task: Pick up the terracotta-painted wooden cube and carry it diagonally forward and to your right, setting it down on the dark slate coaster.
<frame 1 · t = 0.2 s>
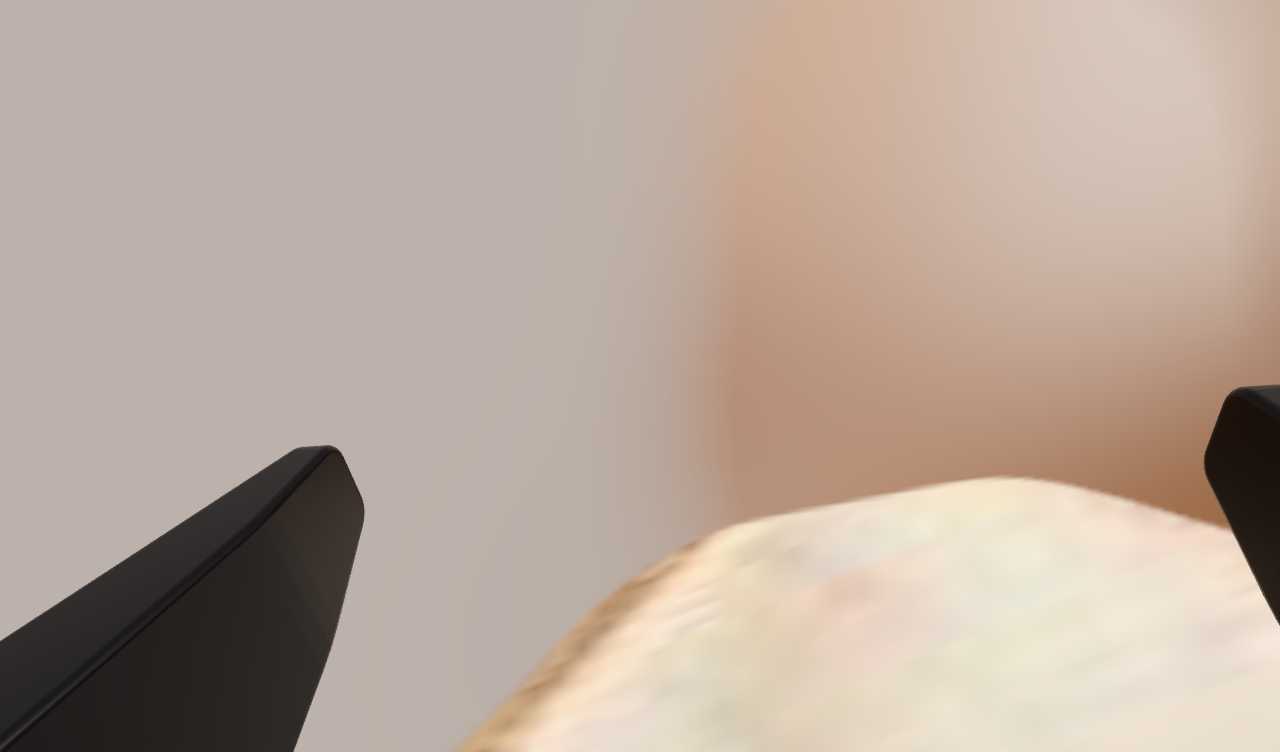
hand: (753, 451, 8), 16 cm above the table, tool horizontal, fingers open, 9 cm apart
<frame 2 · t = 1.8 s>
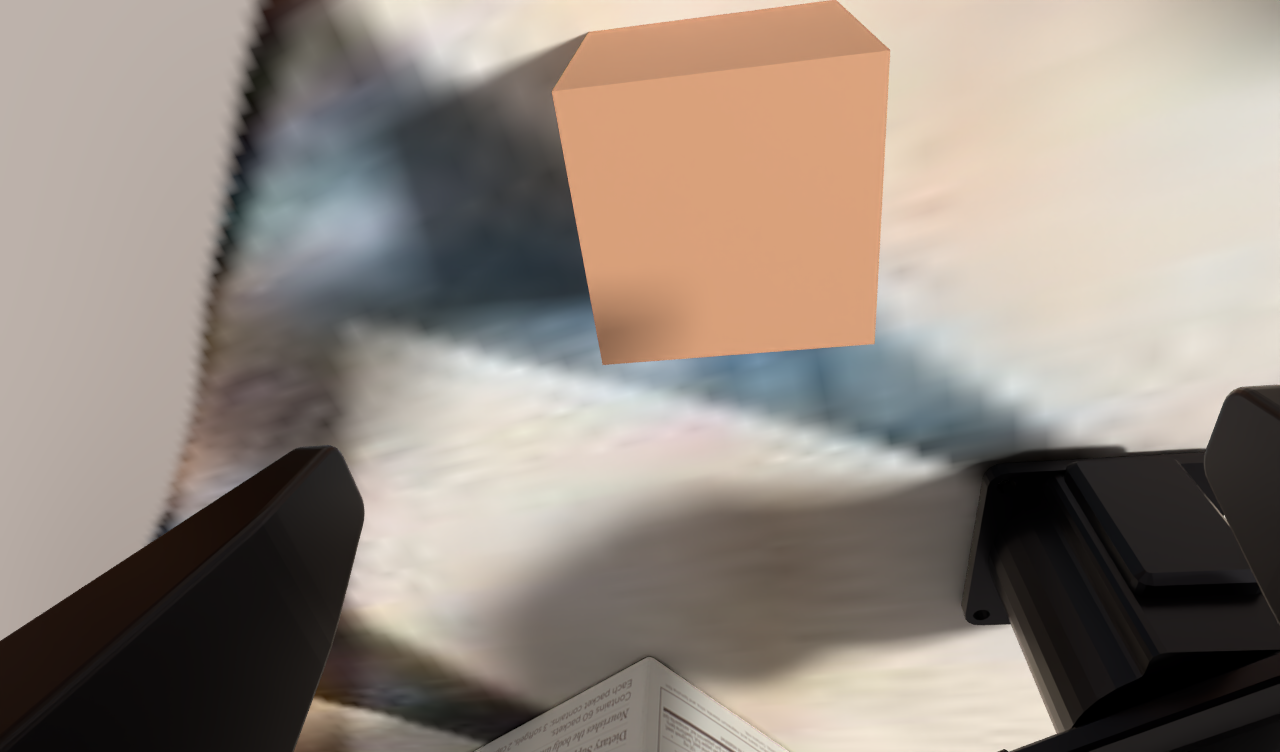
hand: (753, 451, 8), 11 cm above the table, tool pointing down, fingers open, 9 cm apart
cube: (718, 138, 17), on the table
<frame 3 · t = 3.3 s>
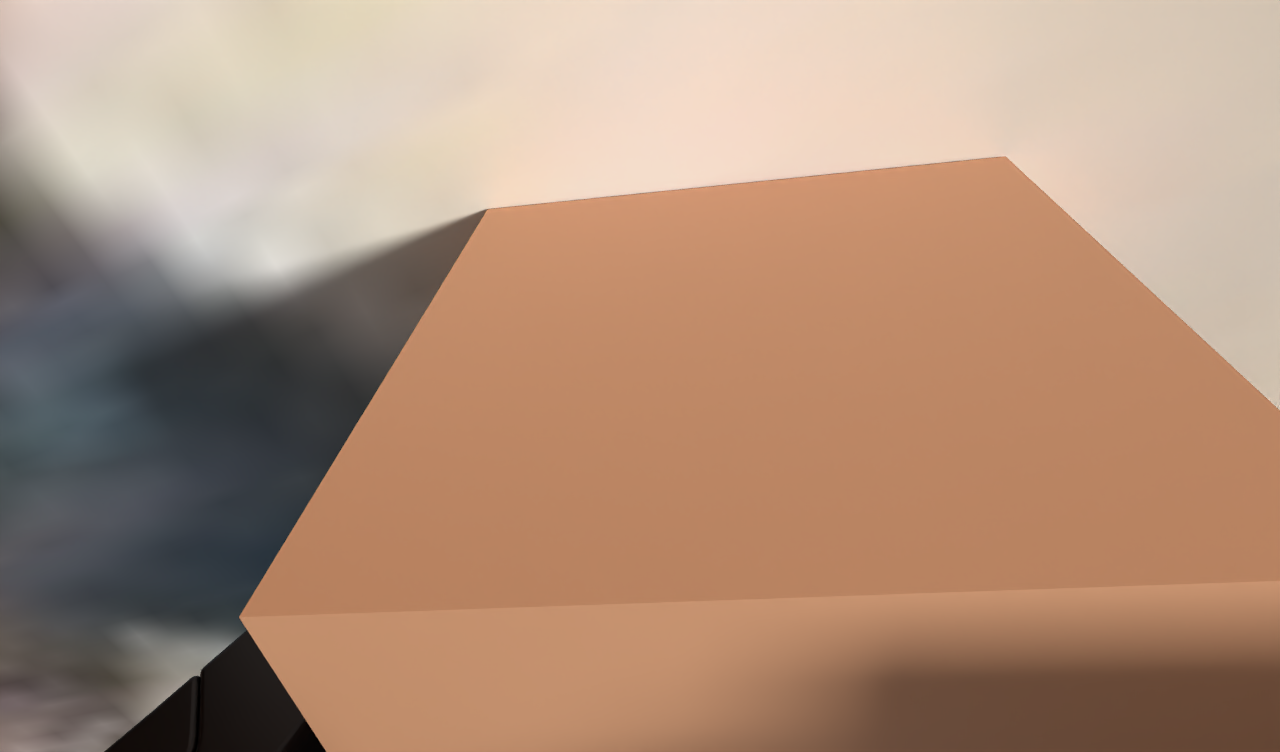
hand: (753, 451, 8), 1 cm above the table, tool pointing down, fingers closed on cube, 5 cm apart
cube: (747, 393, 9), on the table, touching gripper
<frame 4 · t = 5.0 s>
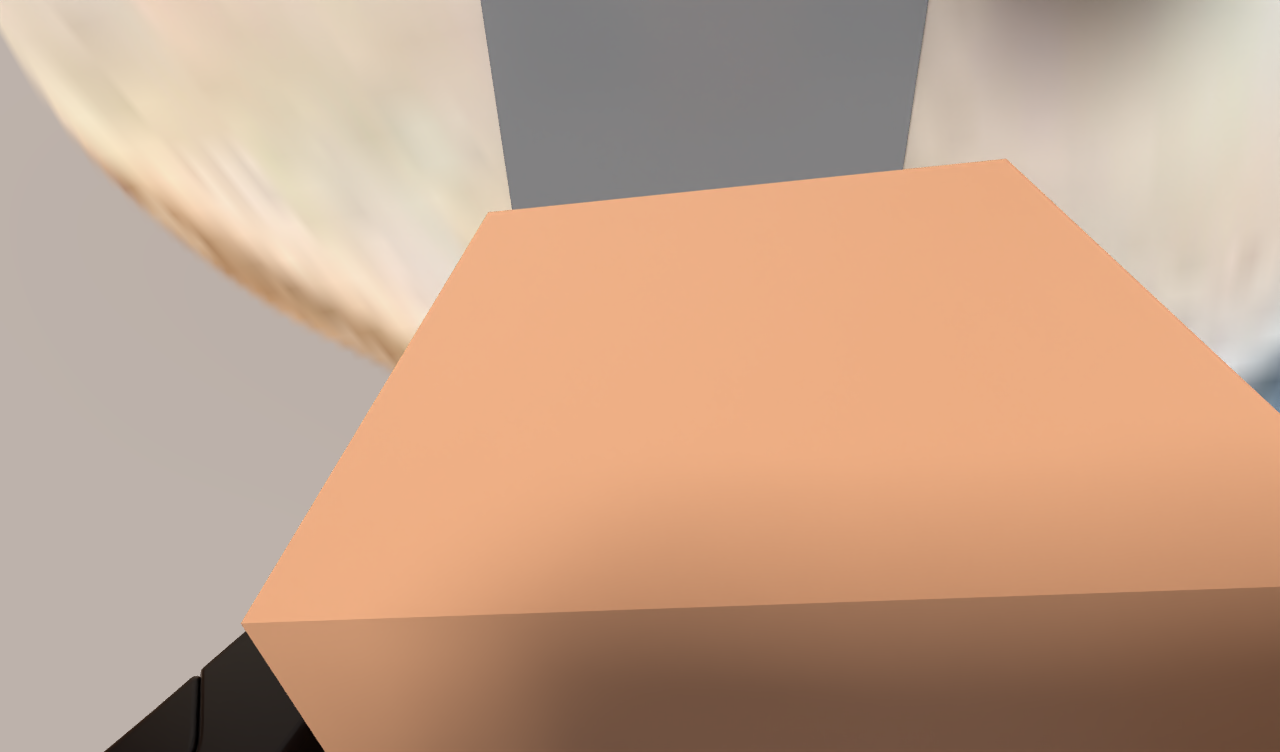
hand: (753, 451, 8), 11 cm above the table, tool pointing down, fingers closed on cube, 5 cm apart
coaster: (700, 87, 17), on the table
cube: (748, 395, 9), point 10 cm above the table, touching gripper
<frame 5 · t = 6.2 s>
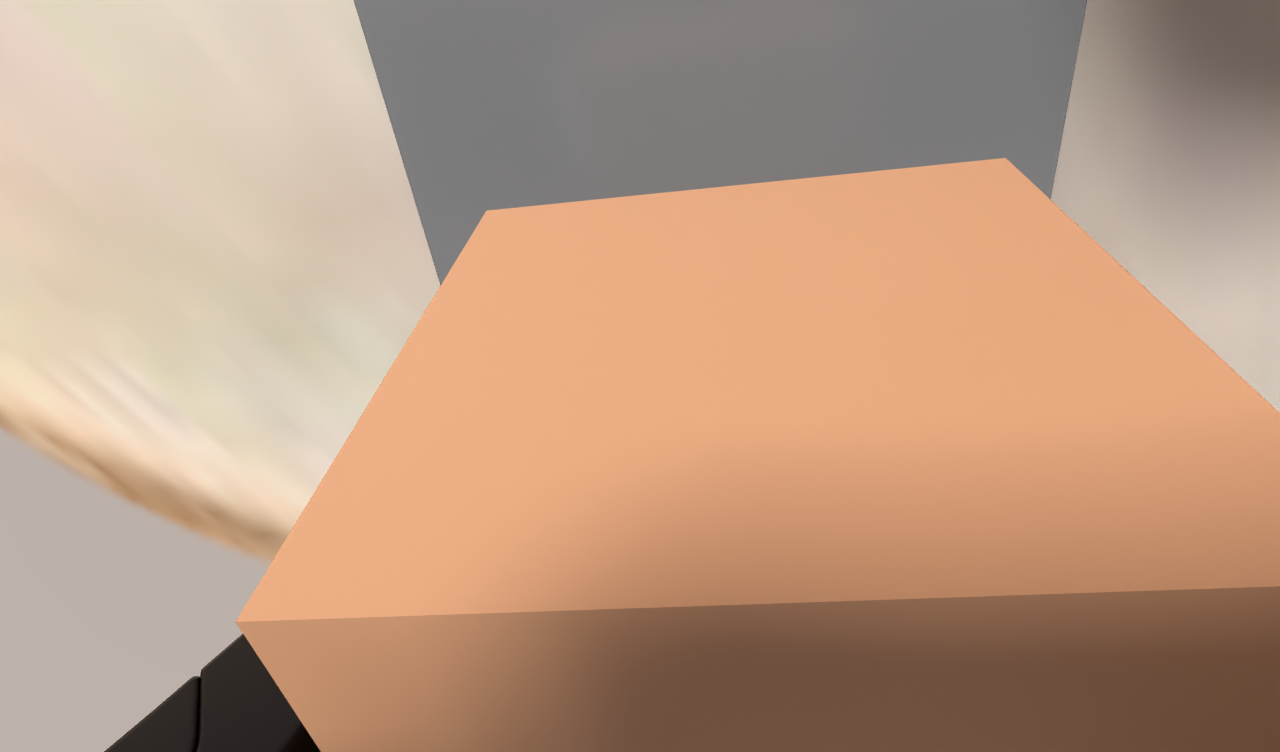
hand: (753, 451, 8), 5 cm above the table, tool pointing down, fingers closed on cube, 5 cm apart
coaster: (727, 253, 12), on the table
cube: (747, 394, 9), point 4 cm above the table, touching gripper
when the fingers open (3 cm above the table, at t = 7.0 s): cube drops 1 cm, resting on coaster.
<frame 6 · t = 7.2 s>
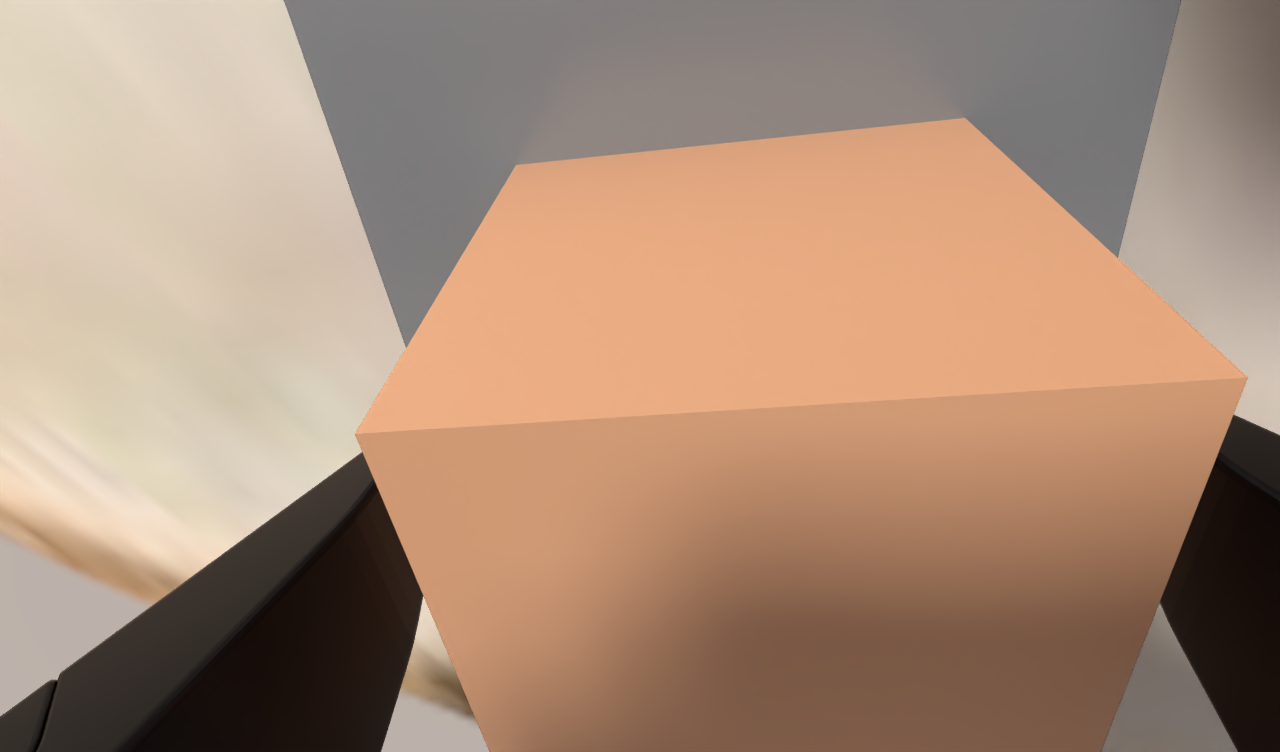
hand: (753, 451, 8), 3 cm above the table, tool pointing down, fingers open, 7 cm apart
coaster: (736, 310, 10), on the table
cube: (743, 333, 10), point 1 cm above the table, touching coaster
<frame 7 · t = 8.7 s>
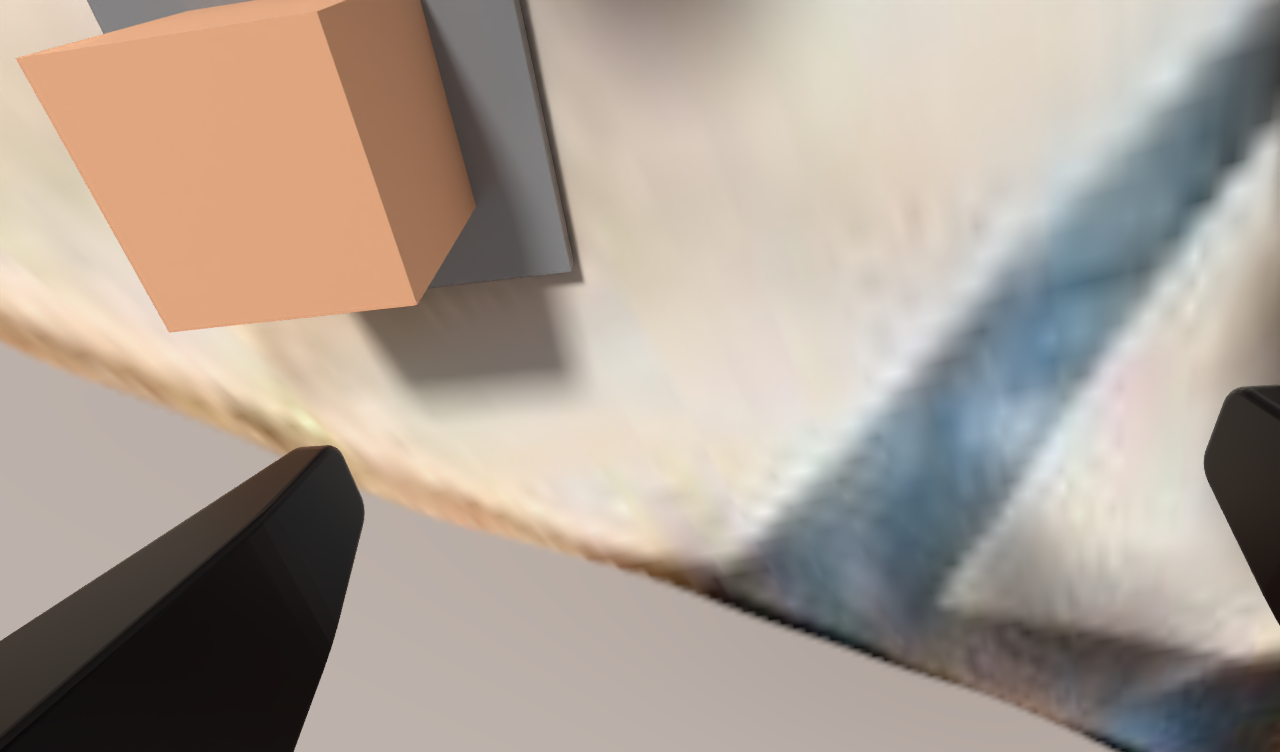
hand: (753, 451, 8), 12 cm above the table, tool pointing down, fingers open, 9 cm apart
coaster: (348, 108, 17), on the table
cube: (341, 115, 17), point 1 cm above the table, touching coaster
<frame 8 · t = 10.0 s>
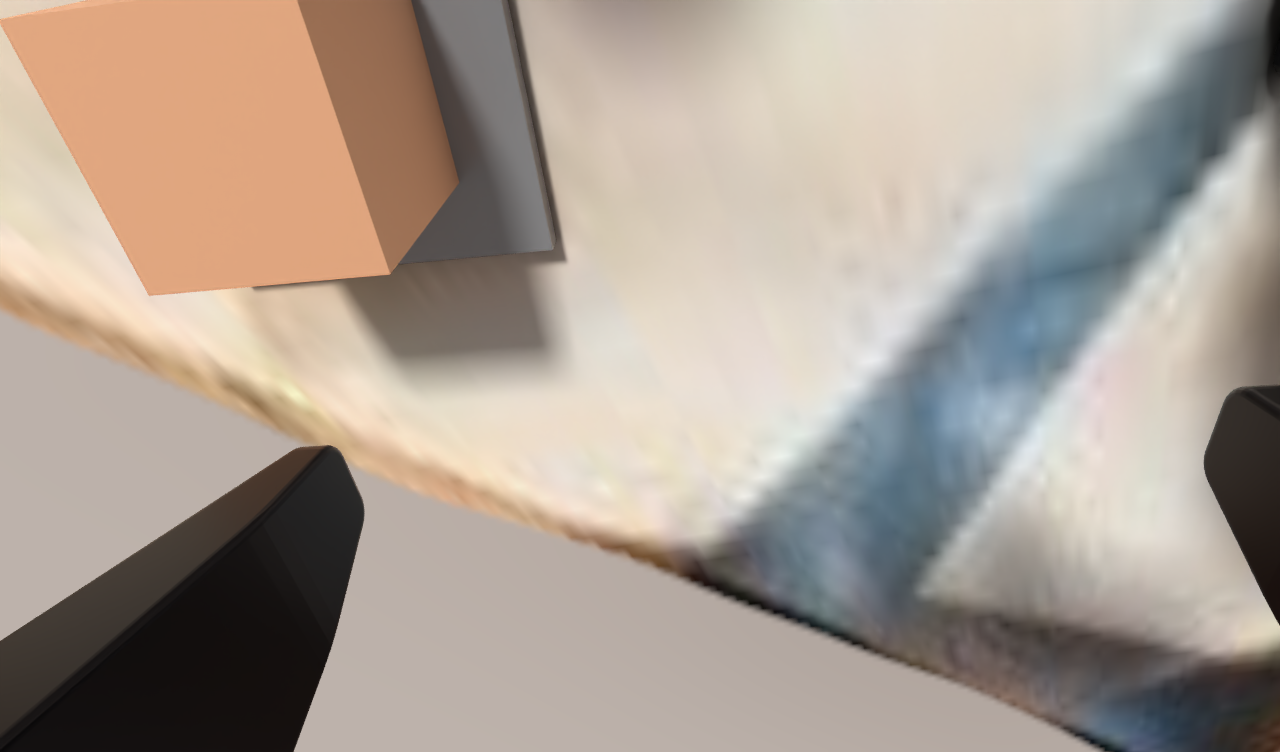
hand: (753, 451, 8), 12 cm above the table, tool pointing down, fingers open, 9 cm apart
coaster: (334, 81, 18), on the table
cube: (326, 88, 17), point 1 cm above the table, touching coaster
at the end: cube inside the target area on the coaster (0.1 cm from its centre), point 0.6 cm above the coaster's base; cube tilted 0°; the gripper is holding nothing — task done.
